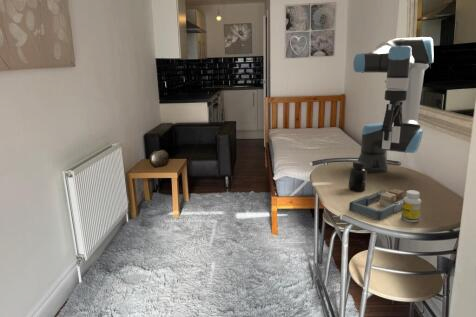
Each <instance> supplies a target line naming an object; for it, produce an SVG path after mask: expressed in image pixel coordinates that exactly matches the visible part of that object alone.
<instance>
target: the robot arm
mask: <svg viewBox="0 0 476 317" xmlns="http://www.w3.org/2000/svg"><path fill="white" fill-rule="evenodd" d="M433 63H434V40H433V38H432V37H431V36H429V37H427V36H426V37H425V36H424V37H423V36H420V37H400V38H398V37H397V38H392V39H389V40H385V41H383V42H381V43H379V44H378V45H376V47H375V48H374V49H373V50H371V51H369V52H367V53H364V52H363V53H357V54H355V56H354V57H353V71H354V72H355V73H361V74H363V73H364V74H365V73H371V74H372V73H386V79H385V80H384V83H385V89H386V90H385V91H384V101H387V102H388V101H389V103H386V108H385V112H384V116H383V122H376V123H375V122H374V123H369V124H368V123H367V124H364V126H363V127H362V132H361V142H360V144H361V145H360V153H359V156H358V158H357V161H362V162H365V167H364V168H365V169H366V170H367V174H369V173H371V174H382V173H383V174H385V173H387V172H388V169H389V165H388V161H387V156H386V153H387V152H386V151H388V152H389V151H390V152H396V153H397V152H398V153H405V154H407V153H409V154H415V153H416V152H417V151H418V150H419V148H420V145H421V142H422V138H423V133H424V129H422V128H421V124H420V123H419V112H420V105H421V98H422V90H423V84H424V76H425V71H426V70H427V69H428V68H429V67H430V64H433Z"/></svg>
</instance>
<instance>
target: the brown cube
mask: <svg viewBox="0 0 476 317" xmlns="http://www.w3.org/2000/svg"><path fill="white" fill-rule="evenodd" d="M388 193H391V194H395V195H396V202H397V201H399V200H402V199H404V198H405V197H404V195H405V190H400V189H397V188H393V189H390V190H389V191H388Z"/></svg>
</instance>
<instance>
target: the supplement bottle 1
mask: <svg viewBox="0 0 476 317" xmlns="http://www.w3.org/2000/svg"><path fill="white" fill-rule="evenodd" d="M364 167H365V162H362V161H358V160H354V161H353V162H352V167H350V169H349V174H348V175H349V176H348V189H349V191H352V192H356V193H361V192H362V193H363V192H365V191H366V186H367V185H366V184H367V176H368V175H367V174H368V172H367V170H366V169H365V168H364Z"/></svg>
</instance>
